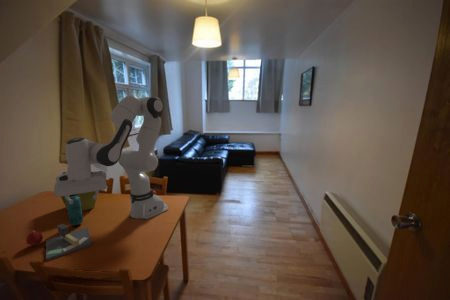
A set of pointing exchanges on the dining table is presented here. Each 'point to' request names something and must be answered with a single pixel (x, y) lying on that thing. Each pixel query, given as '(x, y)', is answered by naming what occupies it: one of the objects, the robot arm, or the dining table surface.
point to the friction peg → (67, 235)
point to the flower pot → (84, 200)
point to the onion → (34, 238)
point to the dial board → (67, 244)
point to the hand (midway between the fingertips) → (83, 201)
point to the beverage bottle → (74, 210)
